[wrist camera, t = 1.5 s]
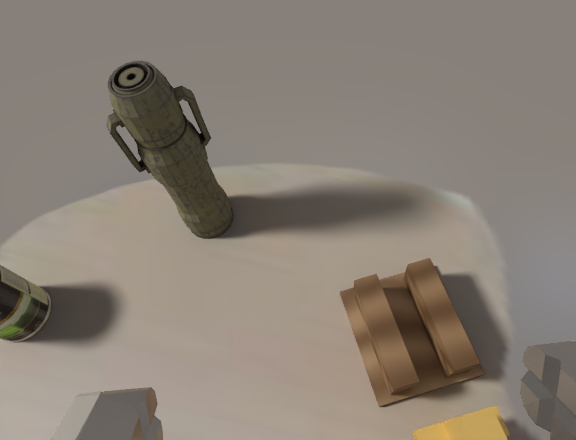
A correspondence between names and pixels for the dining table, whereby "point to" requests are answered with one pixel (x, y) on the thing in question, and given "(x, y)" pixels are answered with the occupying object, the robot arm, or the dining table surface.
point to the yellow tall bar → (467, 427)
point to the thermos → (169, 144)
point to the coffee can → (21, 307)
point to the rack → (409, 333)
